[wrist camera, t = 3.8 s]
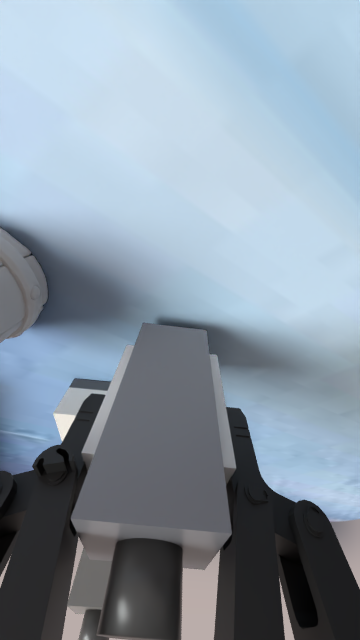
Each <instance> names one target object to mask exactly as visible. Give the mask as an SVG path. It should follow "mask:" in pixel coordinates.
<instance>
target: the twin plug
mask: <svg viewBox="0 0 360 640" xmlns="http://www.w3.org/2000/svg"><path fill="white" fill-rule="evenodd" d="M111 564H112V561H102V560H91V559H89V557H88V555H87V553H86V551H85V549H84V548H83V552H82V555H81V559H80V562H79V565H78V569H77V572H76V576H75V579H74V583H73V586H72V590H71V593H70V596H69V600H68V604H67V606H68V607H69V608H70V609H71V610H72V611H74V612H75V613H76V614H85V615H84V619H83V623H82V628H81V631H80V635H79V640H109V637H103V636H98V635H96V634H97V629H98V625H99V620H100V615H101V611H102V606H103V601H104V597H105V592H106V587H107V582H108V578H109V573H110V568H111Z"/></svg>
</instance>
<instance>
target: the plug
mask: <svg viewBox="0 0 360 640" xmlns="http://www.w3.org/2000/svg"><path fill="white" fill-rule="evenodd" d="M71 521H72V523H73V525H74V527H75V529H76V531H77V534H78V536H79V538H80V540H81V542H82V544H83V546H84V549H85V551H86V553H87V555H88V557H89V559H91V560H102V561H112V564H111V568H110V573H109V578H108V582H107V587H106V592H105V597H104V601H103V606H102V611H101V615H100V620H99V625H98V629H97V634H96V635H98V636H103V637H109V638H118V639H128V640H181V621H182V571H183V568H190V569H202V570H205V568H206V567H207V566H208V564H209V563H210V562H211V561H212V559H213V558H214V557H215V555H216V554H217V553H218V551H219V550H220V549H221V547H222V546H223V545H224V543H225V542H226V541H227V540H228V538H229V537H230V536H231V534H232V530H231V522H230V514H229V506H228V498H227V490H226V482H225V474H224V466H223V458H222V450H221V442H220V434H219V425H218V417H217V409H216V401H215V393H214V385H213V377H212V369H211V361H210V353H209V345H208V337H207V330H201V329H193V328H184V327H175V326H167V325H158V324H149V323H143V324H142V327H141V329H140V332H139V335H138V337H137V340H136V343H135V345H134V348H133V351H132V354H131V356H130V359H129V362H128V364H127V367H126V370H125V373H124V375H123V378H122V381H121V383H120V386H119V389H118V391H117V394H116V397H115V400H114V402H113V405H112V408H111V410H110V413H109V416H108V419H107V421H106V424H105V427H104V429H103V432H102V435H101V437H100V440H99V443H98V446H97V448H96V451H95V454H94V456H93V459H92V462H91V465H90V467H89V470H88V473H87V475H86V478H85V481H84V483H83V486H82V489H81V492H80V494H79V497H78V500H77V502H76V505H75V508H74V511H73V513H72V516H71Z"/></svg>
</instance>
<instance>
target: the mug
mask: <svg viewBox="0 0 360 640" xmlns="http://www.w3.org/2000/svg"><path fill="white" fill-rule="evenodd" d="M30 254H31V252H30V250H29V249H27V248H26V247H25V246H23V245H22V244H21V243H20V242H19V241H17V240H16V239H15V238H13V237H12V236H11V235H10V234H9V233H8V232H6V231H4V230H3V229H1V228H0V343H1V342H2V341H4V340H5V339H9V338H14V337H17V336H20V335H21V334H22V333H23V332H24V331H26V330H27V329H28V328H30V327H31V326H32V325H33V324H34V323H35V321H36V320H37V318H38V316H39V314H40V312H41V311H42V310H43V308H44V307H43V305H44V304H45V303H46V302H47V299H48V288H47V282H46V277H45V275H44V273H43V270H42V268H41V266H40V265H39V263H38V261H37V260H36V258H35V257H34V256H33V255H32V256H29V255H30Z"/></svg>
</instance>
